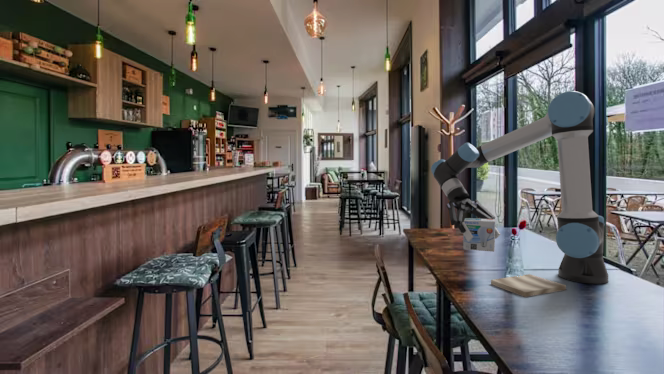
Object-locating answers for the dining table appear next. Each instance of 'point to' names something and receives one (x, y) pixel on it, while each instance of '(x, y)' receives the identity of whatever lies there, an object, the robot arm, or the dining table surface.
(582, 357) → the dining table surface
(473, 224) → the light bulb box
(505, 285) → the birch board
